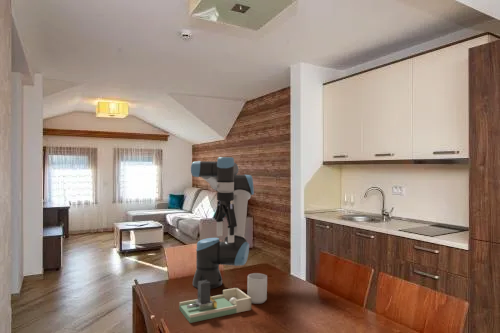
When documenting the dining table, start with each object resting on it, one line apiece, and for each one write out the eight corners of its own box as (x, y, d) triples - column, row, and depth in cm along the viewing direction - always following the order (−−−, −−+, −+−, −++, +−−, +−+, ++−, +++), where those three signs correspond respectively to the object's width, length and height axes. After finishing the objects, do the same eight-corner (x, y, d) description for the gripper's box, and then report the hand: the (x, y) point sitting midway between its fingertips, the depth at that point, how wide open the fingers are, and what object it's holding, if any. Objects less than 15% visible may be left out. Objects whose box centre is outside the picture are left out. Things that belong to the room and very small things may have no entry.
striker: (184, 306, 140) (184, 281, 140) (209, 301, 145) (209, 277, 145) (190, 313, 133) (190, 287, 133) (216, 308, 138) (217, 283, 138)
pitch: (179, 309, 142) (179, 297, 142) (236, 298, 155) (236, 287, 155) (189, 323, 129) (190, 310, 130) (251, 309, 142) (251, 297, 142)
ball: (235, 295, 149) (235, 303, 149) (227, 297, 147) (228, 305, 147) (238, 298, 145) (239, 306, 145) (231, 300, 144) (231, 308, 144)
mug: (261, 306, 146) (262, 280, 147) (243, 302, 150) (244, 277, 151) (272, 296, 157) (272, 273, 157) (255, 293, 161) (255, 270, 161)
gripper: (208, 189, 159) (207, 234, 160) (228, 194, 137) (227, 246, 137) (223, 189, 162) (222, 232, 163) (244, 193, 140) (244, 244, 140)
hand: (225, 239), depth 150 cm, fingers open, 13 cm apart
